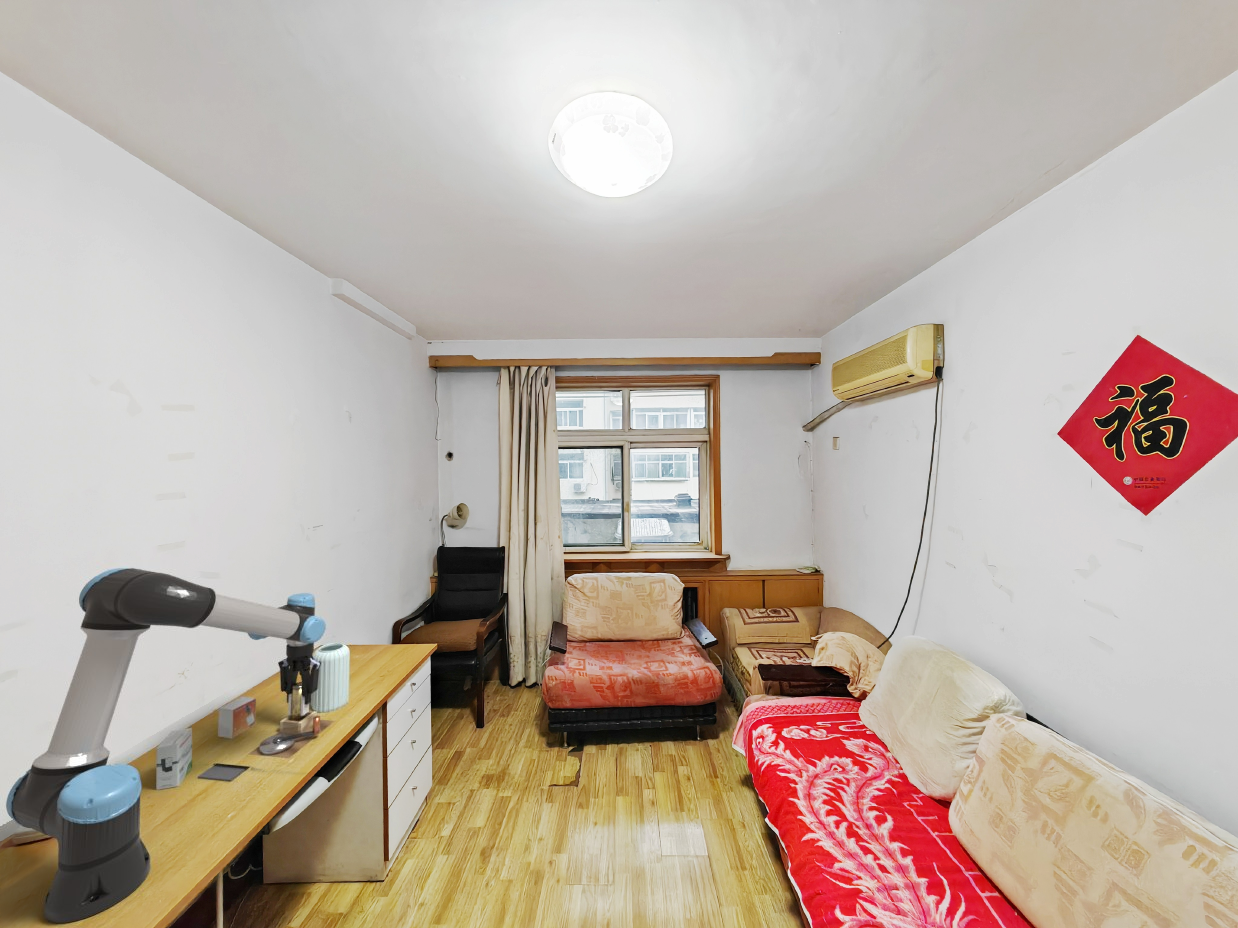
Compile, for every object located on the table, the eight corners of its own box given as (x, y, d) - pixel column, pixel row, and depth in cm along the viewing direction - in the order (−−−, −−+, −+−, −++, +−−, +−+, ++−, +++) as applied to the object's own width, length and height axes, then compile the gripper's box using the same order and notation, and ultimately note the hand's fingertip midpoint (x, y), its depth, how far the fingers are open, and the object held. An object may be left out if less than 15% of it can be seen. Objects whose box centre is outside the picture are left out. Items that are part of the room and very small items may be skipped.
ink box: (171, 770, 138) (172, 729, 138) (192, 767, 140) (193, 726, 139) (154, 790, 130) (155, 747, 130) (177, 787, 132) (178, 743, 131)
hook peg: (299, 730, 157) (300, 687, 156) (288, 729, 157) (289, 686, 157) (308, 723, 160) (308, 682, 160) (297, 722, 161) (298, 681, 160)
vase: (347, 697, 181) (348, 638, 181) (349, 711, 171) (351, 649, 171) (311, 705, 175) (312, 644, 174) (311, 720, 165) (312, 656, 165)
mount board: (289, 762, 143) (289, 757, 143) (248, 758, 144) (248, 753, 144) (334, 725, 163) (334, 720, 163) (298, 721, 164) (298, 717, 164)
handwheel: (319, 743, 150) (319, 723, 150) (257, 757, 142) (257, 736, 142) (320, 728, 157) (320, 709, 157) (261, 741, 150) (261, 721, 150)
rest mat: (230, 781, 134) (230, 779, 134) (197, 778, 135) (197, 776, 135) (260, 758, 144) (260, 757, 144) (229, 755, 145) (229, 754, 145)
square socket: (300, 734, 155) (300, 723, 155) (279, 732, 155) (279, 721, 155) (316, 721, 162) (316, 711, 162) (296, 719, 163) (296, 709, 162)
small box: (231, 743, 151) (232, 710, 151) (217, 740, 152) (217, 707, 152) (255, 729, 159) (256, 697, 159) (241, 726, 160) (242, 695, 160)
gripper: (332, 639, 161) (330, 708, 161) (285, 635, 162) (283, 704, 163) (316, 648, 154) (314, 721, 154) (267, 644, 155) (265, 716, 155)
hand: (298, 712), depth 158 cm, fingers closed on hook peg, 3 cm apart
